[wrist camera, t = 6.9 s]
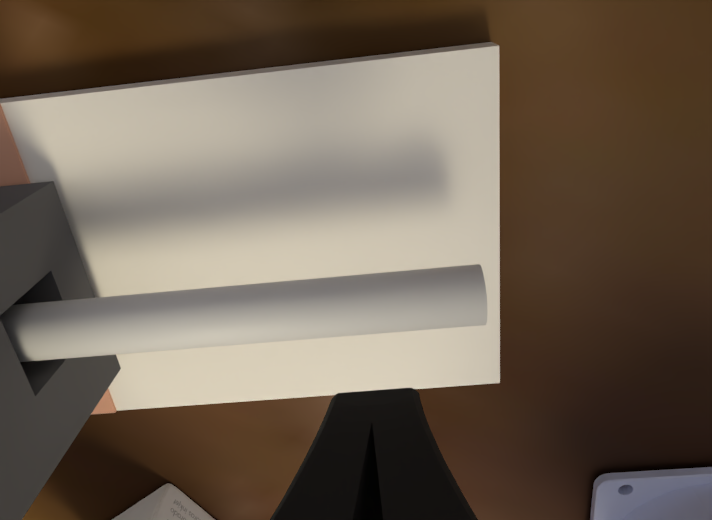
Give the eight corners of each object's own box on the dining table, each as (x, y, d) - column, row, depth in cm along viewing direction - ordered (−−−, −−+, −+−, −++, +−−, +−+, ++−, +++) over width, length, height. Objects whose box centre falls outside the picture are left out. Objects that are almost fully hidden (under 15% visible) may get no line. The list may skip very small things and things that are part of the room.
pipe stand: (491, 42, 14) (611, 99, 7) (493, 363, 19) (569, 601, 11) (-233, 126, 16) (-741, 244, 9) (-75, 406, 20) (-325, 640, 13)
